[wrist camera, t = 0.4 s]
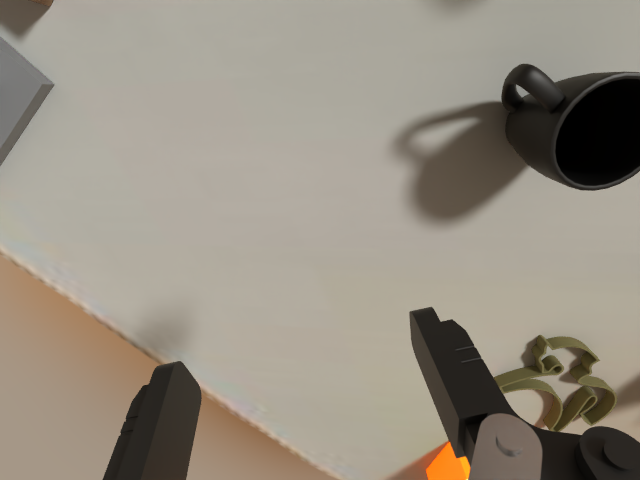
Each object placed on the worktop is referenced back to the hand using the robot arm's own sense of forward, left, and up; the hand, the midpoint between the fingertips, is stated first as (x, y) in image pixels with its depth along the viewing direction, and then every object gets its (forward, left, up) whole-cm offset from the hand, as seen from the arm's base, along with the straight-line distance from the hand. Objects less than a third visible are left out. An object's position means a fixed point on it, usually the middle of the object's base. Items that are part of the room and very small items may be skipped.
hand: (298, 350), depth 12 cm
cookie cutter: (+34, +29, -26) cm, 52 cm away
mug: (-3, +20, -26) cm, 33 cm away
